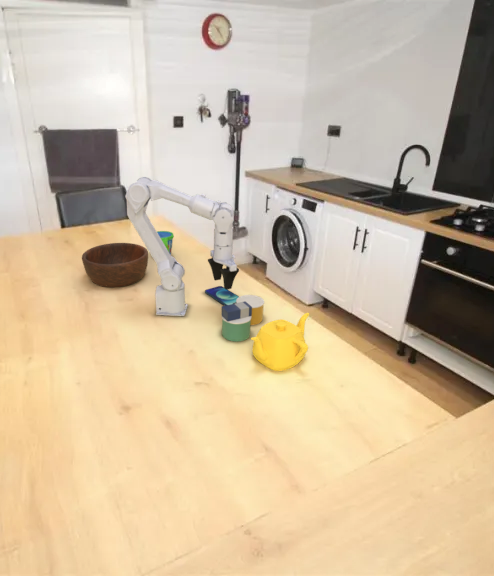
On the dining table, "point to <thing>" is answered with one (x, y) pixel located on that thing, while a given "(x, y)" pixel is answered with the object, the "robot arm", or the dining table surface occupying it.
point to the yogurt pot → (236, 329)
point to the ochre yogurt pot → (253, 307)
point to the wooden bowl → (115, 264)
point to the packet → (236, 311)
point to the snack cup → (166, 239)
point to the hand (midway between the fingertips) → (222, 284)
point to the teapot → (280, 344)
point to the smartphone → (222, 295)
